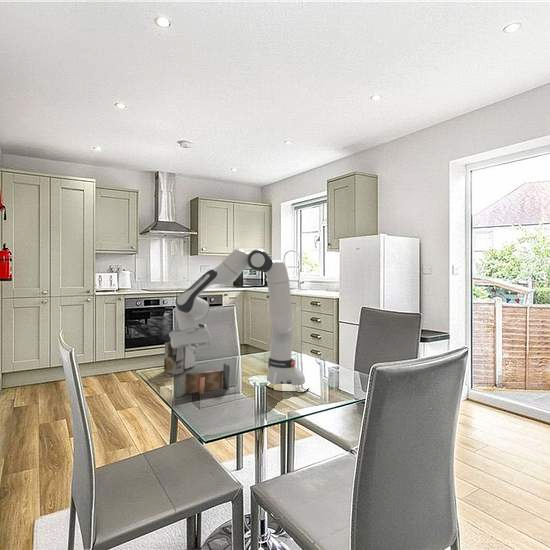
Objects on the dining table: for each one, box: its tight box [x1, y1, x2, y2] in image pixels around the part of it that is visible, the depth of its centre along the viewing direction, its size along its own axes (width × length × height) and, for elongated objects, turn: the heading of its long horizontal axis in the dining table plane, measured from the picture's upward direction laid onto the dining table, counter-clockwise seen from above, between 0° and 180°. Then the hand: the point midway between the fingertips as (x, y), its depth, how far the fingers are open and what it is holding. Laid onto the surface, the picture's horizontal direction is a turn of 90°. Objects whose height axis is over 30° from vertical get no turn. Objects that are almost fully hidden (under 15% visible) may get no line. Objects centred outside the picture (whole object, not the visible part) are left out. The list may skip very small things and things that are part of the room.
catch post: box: [198, 377, 205, 395], centre depth 188 cm, size 2×2×7 cm
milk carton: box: [184, 346, 196, 370], centre depth 227 cm, size 7×7×19 cm
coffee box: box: [163, 340, 185, 375], centre depth 216 cm, size 9×6×16 cm
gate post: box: [222, 362, 231, 390], centre depth 196 cm, size 3×3×12 cm
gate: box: [184, 369, 223, 394], centre depth 190 cm, size 18×2×9 cm, turn 120°
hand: (194, 353), depth 194 cm, fingers closed
